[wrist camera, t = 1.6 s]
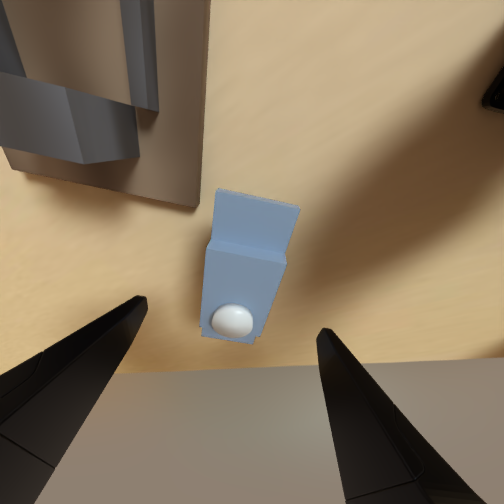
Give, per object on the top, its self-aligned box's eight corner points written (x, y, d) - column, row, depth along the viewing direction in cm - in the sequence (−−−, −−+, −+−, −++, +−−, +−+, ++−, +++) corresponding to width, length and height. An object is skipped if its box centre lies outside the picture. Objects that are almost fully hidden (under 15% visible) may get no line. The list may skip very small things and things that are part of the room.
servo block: (287, 186, 13) (307, 222, 7) (254, 297, 19) (251, 365, 13) (231, 174, 13) (206, 200, 7) (215, 290, 18) (194, 357, 13)
